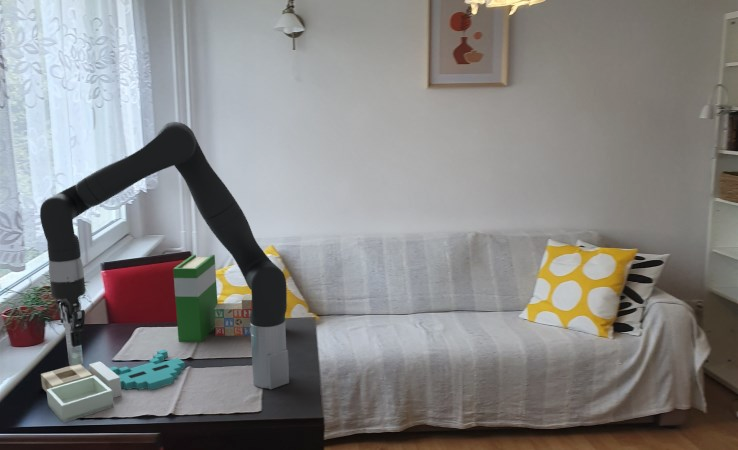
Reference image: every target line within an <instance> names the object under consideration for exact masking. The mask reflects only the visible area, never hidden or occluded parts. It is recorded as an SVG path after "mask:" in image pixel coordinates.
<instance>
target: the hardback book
mask: <svg viewBox="0 0 738 450" xmlns="http://www.w3.org/2000/svg"><path fill="white" fill-rule="evenodd" d="M215 258H216V256H215V254H211V255H210V256H209V257H208V256H197V255H196V254H192V255H191V256H189V257H188V258H186V259H185V260H183V261H182V262H180V264H178V265H176V266H175V267H174V268H173V269H172V273H173V283H174V284H173V285H174V297H175V299H174V300H175V311H176V324H177V327H176V328H177V337H178V338H177V339H178V342H179V343H180V342H183V343H184V342H186V343H202V342H204V340H205V339H206V337H208V335H210V334H211V332H212V331H213V330H214V329H215V318H214V309H215V307H216V305H217V304H218V302H219V301H218V292H217V291H218V290H217V289H218V286H217V274H216V272H217V271H216V259H215Z"/></svg>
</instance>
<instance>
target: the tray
mask: <svg viewBox="0 0 738 450" xmlns="http://www.w3.org/2000/svg"><path fill="white" fill-rule="evenodd" d="M46 396H47V405H48V407H49V408H50V409H51V410H52V412H54V414H55V416H57V417H58V418H59V419H60V421H61V422H62V423H64V424H65V423H68V422H71V421H73V420H74V421H75V420H76V419H77V420H78V419H80V418H83V417H85V416H89V415H93V414H95V413H98V412H102V411H104V410H107V409H111V408H113V407H114V398H113V394H112V390H111V389H110V388H109V387H108V386H106V385H105V384H104V383H103V382H102V381H101V380H99V379H98V378H97V377H96V376H91V377H88V378H85V379H81V380H78V381H74V382H71V383H67V384H64V385H60V386H57V387H53V388H50V389H47V392H46Z"/></svg>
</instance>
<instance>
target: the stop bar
mask: <svg viewBox="0 0 738 450" xmlns="http://www.w3.org/2000/svg"><path fill="white" fill-rule="evenodd" d="M88 367H89V372H90V373H91V374H92V376H96V377H97V378H98V379H99V380H101V381H102V382H103V383H104V384H105V385H106V386H108V387H109V388H110V389H111V390H112V394H113V399H114V398H117V397H120V396H122V394H123V393H122V388H121V382H120V377H119V376H118V375H117V374H115V373H114V372H113V371H112V370H110V369H109V368H110V367H108V366H107V365H105V364H104V363H103V362H101V361H95V362H93V363H89V365H88Z"/></svg>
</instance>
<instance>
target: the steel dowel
mask: <svg viewBox="0 0 738 450" xmlns="http://www.w3.org/2000/svg"><path fill="white" fill-rule="evenodd" d="M70 320H71V319H70ZM64 324H65V328H64V331H65V339H66V348H67V359H68V364H69V366H72V365H79V364H81V365H82V364H83V363H84V356H83V349H82V344H81V345H80V346H76V347H73V346H72V345H71V335H70V328H69V324H68V323H66V321H64ZM76 326H78V325H76Z"/></svg>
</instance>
